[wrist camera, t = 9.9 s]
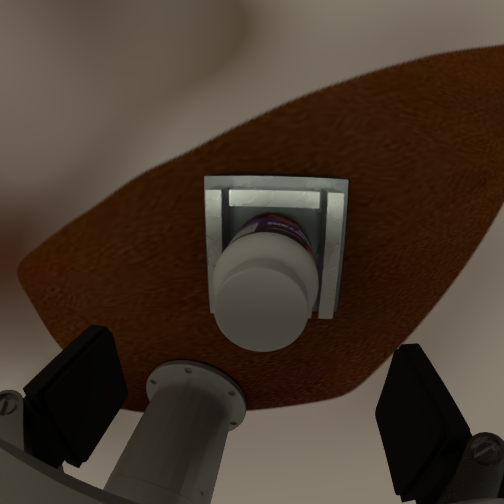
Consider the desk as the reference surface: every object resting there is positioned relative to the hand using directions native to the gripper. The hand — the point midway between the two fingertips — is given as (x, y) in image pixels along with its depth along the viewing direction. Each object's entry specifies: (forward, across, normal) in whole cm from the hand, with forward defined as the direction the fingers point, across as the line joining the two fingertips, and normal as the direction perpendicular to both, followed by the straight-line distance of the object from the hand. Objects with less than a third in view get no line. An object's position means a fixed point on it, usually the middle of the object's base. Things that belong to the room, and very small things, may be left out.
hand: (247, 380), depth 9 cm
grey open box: (+18, 0, -1) cm, 18 cm away
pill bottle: (+14, 0, -1) cm, 14 cm away
